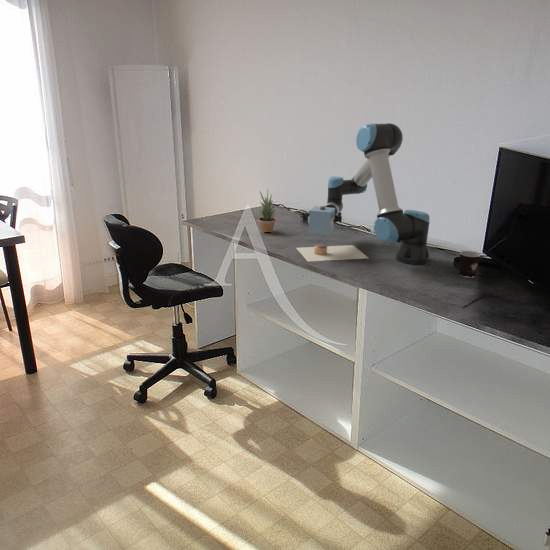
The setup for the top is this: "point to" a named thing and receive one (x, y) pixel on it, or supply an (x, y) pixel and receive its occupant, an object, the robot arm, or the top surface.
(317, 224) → the box cover
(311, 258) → the mat
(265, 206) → the potted plant
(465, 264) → the coffee mug
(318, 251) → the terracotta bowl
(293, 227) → the top surface
